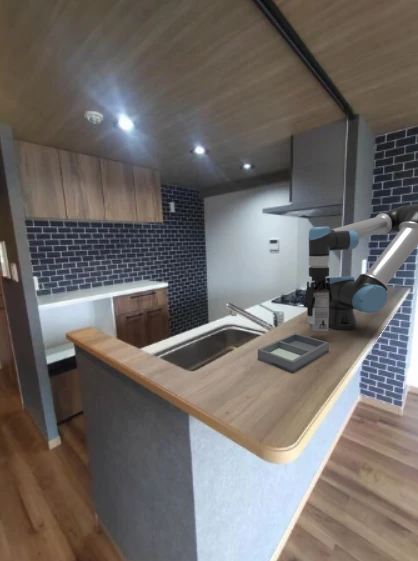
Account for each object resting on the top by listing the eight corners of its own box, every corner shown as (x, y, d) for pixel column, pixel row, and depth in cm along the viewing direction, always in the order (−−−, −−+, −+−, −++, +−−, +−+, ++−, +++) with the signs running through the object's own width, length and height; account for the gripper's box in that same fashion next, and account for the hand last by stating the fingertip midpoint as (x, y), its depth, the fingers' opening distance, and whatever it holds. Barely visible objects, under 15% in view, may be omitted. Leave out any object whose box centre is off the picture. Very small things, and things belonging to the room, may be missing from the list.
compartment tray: (294, 341, 107) (294, 333, 106) (328, 351, 96) (328, 342, 95) (257, 358, 92) (257, 349, 92) (292, 373, 81) (293, 362, 81)
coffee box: (308, 323, 113) (308, 286, 110) (324, 323, 111) (324, 286, 109) (311, 330, 104) (312, 291, 101) (329, 331, 102) (330, 290, 100)
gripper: (324, 263, 114) (323, 312, 117) (293, 269, 99) (294, 325, 103) (341, 264, 108) (340, 315, 111) (312, 270, 94) (312, 329, 97)
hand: (318, 320), depth 107 cm, fingers closed on coffee box, 11 cm apart
